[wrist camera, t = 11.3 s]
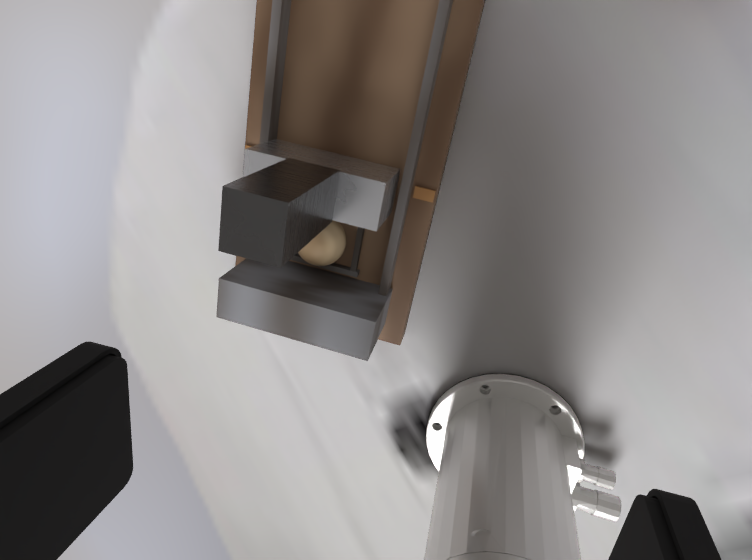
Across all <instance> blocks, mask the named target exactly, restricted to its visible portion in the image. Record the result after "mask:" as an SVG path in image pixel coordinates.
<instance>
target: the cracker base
mask: <svg viewBox="0 0 752 560" xmlns="http://www.w3.org/2000/svg"><path fill="white" fill-rule="evenodd" d="M484 3H485V0H257V6H256V18H255V30H254V43H253V55H252V68H251V80H250V93H249V105H248V118H247V130H246V142H245V149H246V148H249V147H252V146H255V145H258V144H261V143H264V142H268V141H271V140H274V139H278V140H282V141H286V142H290V143H295V144H299V145H303V146H307V147H311V148H316V149H320V150H324V151H328V152H332V153H337V154H341V155H345V156H349V157H353V158H358V159H362V160H366V161H370V162H374V163H379V164H383V165H387V166H391V167H395V168H400V174H399V179H398V184H397V189H396V194H395V198H394V203H393V208H392V212H391V214H390V215H389V216H388V217H387V219H386V220H385V221H384V223H383V224H382V225H381V226H380V228H379V229H378V230H377V232H376V231H372V230H368V229H365V228H361V227H357V226H353V225H349V224H345V223H341V222H339V223H340V224H341V225H342V227H343V229H344V231H345V234H346V247H345V250H344V252H343V254H342V255H341V257H340V258H339V259H338V260H337V261H335V262H334V263H332V264H329V265H326V266H315V265H312V264H310V263H308V262H306V261H305V260H303V259H302V258H301V256H300V255H299V254H298V253H297V254H296V255H295V256H294V257H292V258H291V259H290V260H289V261H288V262H287V263H286V264H285V265H284V266H282V267H281V268H280V267H276V266H272V265H269V264H265V263H261V262H258V261H254V260H250V259H247V258H243V257H239V256H236V266H235V267H234V268H232V269H231V270H230V271H228V272H227V273H226V274H224V275H223V276H222V277H220V278H219V287H218V302H217V317H218V318H222V319H225V320H229V321H232V322H235V323H239V324H242V325H246V326H249V327H253V328H256V329H260V330H263V331H266V332H270V333H273V334H277V335H280V336H284V337H287V338H290V339H294V340H297V341H301V342H304V343H308V344H311V345H314V346H318V347H321V348H325V349H328V350H332V351H335V352H338V353H342V354H345V355H349V356H352V357H356V358H359V359H362V360H366V361H368V359H369V357H370V355H371V353H372V350H373V348H374V346H375V344H376V342H377V340H378V339H379V340H383V341H386V342H390V343H393V344H397V345H400V344H401V342H402V339H403V336H404V334H405V330H406V326H407V321H408V317H409V313H410V309H411V305H412V301H413V297H414V292H415V288H416V284H417V280H418V276H419V272H420V268H421V264H422V259H423V255H424V251H425V247H426V243H427V239H428V235H429V230H430V226H431V222H432V218H433V214H434V210H435V206H436V201H437V197H438V193H439V189H440V185H441V181H442V177H443V173H444V168H445V164H446V160H447V156H448V152H449V148H450V144H451V139H452V135H453V131H454V127H455V123H456V119H457V115H458V111H459V106H460V102H461V98H462V94H463V90H464V86H465V82H466V77H467V73H468V69H469V65H470V61H471V57H472V53H473V48H474V44H475V40H476V36H477V32H478V28H479V24H480V20H481V15H482V11H483V7H484Z"/></svg>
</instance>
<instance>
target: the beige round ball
mask: <svg viewBox="0 0 752 560" xmlns="http://www.w3.org/2000/svg"><path fill="white" fill-rule="evenodd" d="M345 247H346V234H345V231H344V229H343V227H342V225H341V224H340V223H339V222H337V221H333V220H332V222H331V223H330V224H329V225H328V226H327V227H326V228H325V229H324V230H322V231H321V232H320V233H319V234H318V235H317V236H316V237H315V238H314V239H312V240H311V241H310V242H309V243H308V244H307V245H306V246H305V247H304V248H302V249H301V250H300V251H299V252H298V254H299V255H300V256H301V258H302V259H303V260H305V261H306V262H308V263H310V264H312V265H315V266H326V265H329V264H332V263H334V262H335V261H337V260H338V259H339V258H340V257H341V255H342V254H343V252H344V250H345Z"/></svg>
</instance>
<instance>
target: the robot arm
mask: <svg viewBox="0 0 752 560" xmlns="http://www.w3.org/2000/svg"><path fill="white" fill-rule="evenodd" d="M484 385H487V386H484ZM554 405H555V406H554ZM131 440H132V439H131V422H130V406H129V390H128V372H127V363H126V361H125V359H123V358H122V357H121V353H120V352H119V350H117V349H116V348H113V347H108V346H105V345H101V344H97V343H93V342H85V343H82V344H80V345H78V346H77V347H75V348H74V349H72V350H70V351H69V352H67V353H66V354H64V355H62V356H61V357H59V358H58V359H56V360H55V361H53V362H51V363H50V364H48V365H47V366H45V367H43V368H42V369H40V370H39V371H37V372H35V373H34V374H32V375H31V376H29V377H27V378H26V379H24V380H23V381H21V382H20V383H18V384H16V385H15V386H13V387H11V388H10V389H8V390H7V391H5V392H3V393H2V394H0V560H57V559H58V557H59V556H60V555H61V554H62V553H63V552H64V551H65V550H66V549H67V548H68V547H69V546H70V545H71V544H72V543H73V541H74V540H75V539H76V538H77V537H78V536H79V535H80V534H81V533H82V532H83V531H84V530H85V529H86V527H87V526H88V525H89V524H90V523H91V522H92V521H93V520H94V519H95V518H96V517H97V516H98V515H99V513H101V511H102V510H103V509H104V508H105V507H106V506H107V505H108V504H109V503H110V502H111V501H112V500H113V499H114V498H115V496H116V495H117V494H118V493H119V492H120V491H121V490H122V489H123V488H124V487H125V485H126V484H127V483H128V481H129V479H130V477H131V475H132V471H133V457H132V441H131ZM426 444H427V448H428V452H429V455H430V458H431V460H432V462H433V464H434V466H435V467H436V468H437V470H438V471H439V473H438V479H437V485H436V491H435V497H434V503H433V509H432V515H431V521H430V527H429V533H428V539H427V545H426V551H425V557H424V560H581V555H580V548H579V542H578V535H577V528H576V522H575V515H574V512H575V510H576V509H578V510H582V511H585V512H588V513H590V514H591V515H593V516H596V517H599V518H602V519H605V520H609V521H612V522H616V521H617V520H618V519H619V516H620V513H621V500H620V498H619V497H617V496H614V495H611V494H608V493H604V492H601V491H598V490H591V489H588V488H584V487H581V486H580V482H581V481H582V480H583V481H587V482H590V483H593V484H594V485H597V486H600V487H603V488H607V489H610V490H612V489H613V488H614V486H615V483H616V474H615V472H614V471H611V470H607V469H604V468H601V467H594V466H591V465H588V464H585V461H584V460H583V459H584V455H585V442H584V437H583V432H582V428H581V425H580V423H579V420H578V418H577V416H576V414H575V413H574V411H573V410H572V408H571V407H570V405H569V404H568V403H567V402H566V401H565V400H564V399H563V398H562V397H561V396H560V395H558V394H557V393H555V392H554V391H553V390H551V389H550V388H548V387H547V386H545V385H542V384H540V383H538V382H536V381H534V380H531V379H527V378H524V377H520V376H516V375H507V374H487V375H482V376H477V377H473V378H470V379H467V380H465V381H462V382H460V383H458V384H456V385H455V386H453V387H452V388H450V389H449V390H447V391H446V392H445V393H444V394H443V395H442V396H441V397H440V398H439V399H438V401H437V402H436V404H435V406H434V407H433V409H432V411H431V414H430V417H429V420H428V425H427V430H426ZM609 560H721V558H720V555H719V553H718V551H717V548H716V546H715V544H714V542H713V539H712V537H711V535H710V533H709V530H708V528H707V526H706V524H705V521H704V519H703V517H702V515H701V512H700V510H699V508H698V506H697V504H696V502H695V501H694V500H693V499H691V498H688V497H685V496H681V495H677V494H673V493H669V492H665V491H662V490H658V489H652V490H651V491H650V492H649V493H648V495H647V496H644V495H638V496H636V498H635V500H634V502H633V504H632V506H631V509H630V511H629V513H628V516H627V518H626V520H625V523H624V525H623V527H622V529H621V532H620V534H619V536H618V539H617V541H616V543H615V546H614V548H613V550H612V553H611V555H610V557H609Z"/></svg>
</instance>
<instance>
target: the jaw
mask: <svg viewBox="0 0 752 560" xmlns="http://www.w3.org/2000/svg"><path fill="white" fill-rule="evenodd" d="M399 174H400V168H395V167H391V166H387V165H383V164H379V163H374V162H370V161H366V160H362V159H358V158H353V157H349V156H345V155H341V154H337V153H332V152H328V151H324V150H320V149H316V148H311V147H307V146H303V145H299V144H295V143H290V142H286V141H282V140H278V139H274V140H271V141H268V142H264V143H261V144H258V145H255V146H252V147H249V148H246V149H245V154H244V166H243V178H241V179H238V180H236V181H234V182H231V183H229V184H227V185H224V186H223V190H222V205H221V221H220V236H219V251H221V252H225V253H228V254H232V255H236V256H239V257H243V258H247V259H250V260H254V261H258V262H261V263H265V264H269V265H272V266H276V267H280V268H281V267H282V266H284V265H285V264H286V263H287V262H288V261H289V260H290V259H291V258H292V257H294V256H295V255H296V254H297V253H298V252H299V251H300V250H301V249H302V248H304V247H305V246H306V245H307V244H308V243H309V242H310V241H311V240H312V239H314V238H315V237H316V236H317V235H318V234H319V233H320V232H321V231H322V230H324V229H325V228H326V227H327V226H328V225H329V224H330V223H331V222H332V220H333V221H337V222H341V223H345V224H349V225H353V226H357V227H361V228H365V229H368V230H372V231H376V232H377V230H378V229H379V228H380V226H381V225H382V224H383V223H384V221H385V220H386V219H387V217H388V216H389V215H390V214H391V212H392V208H393V203H394V198H395V194H396V189H397V184H398V179H399Z"/></svg>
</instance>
